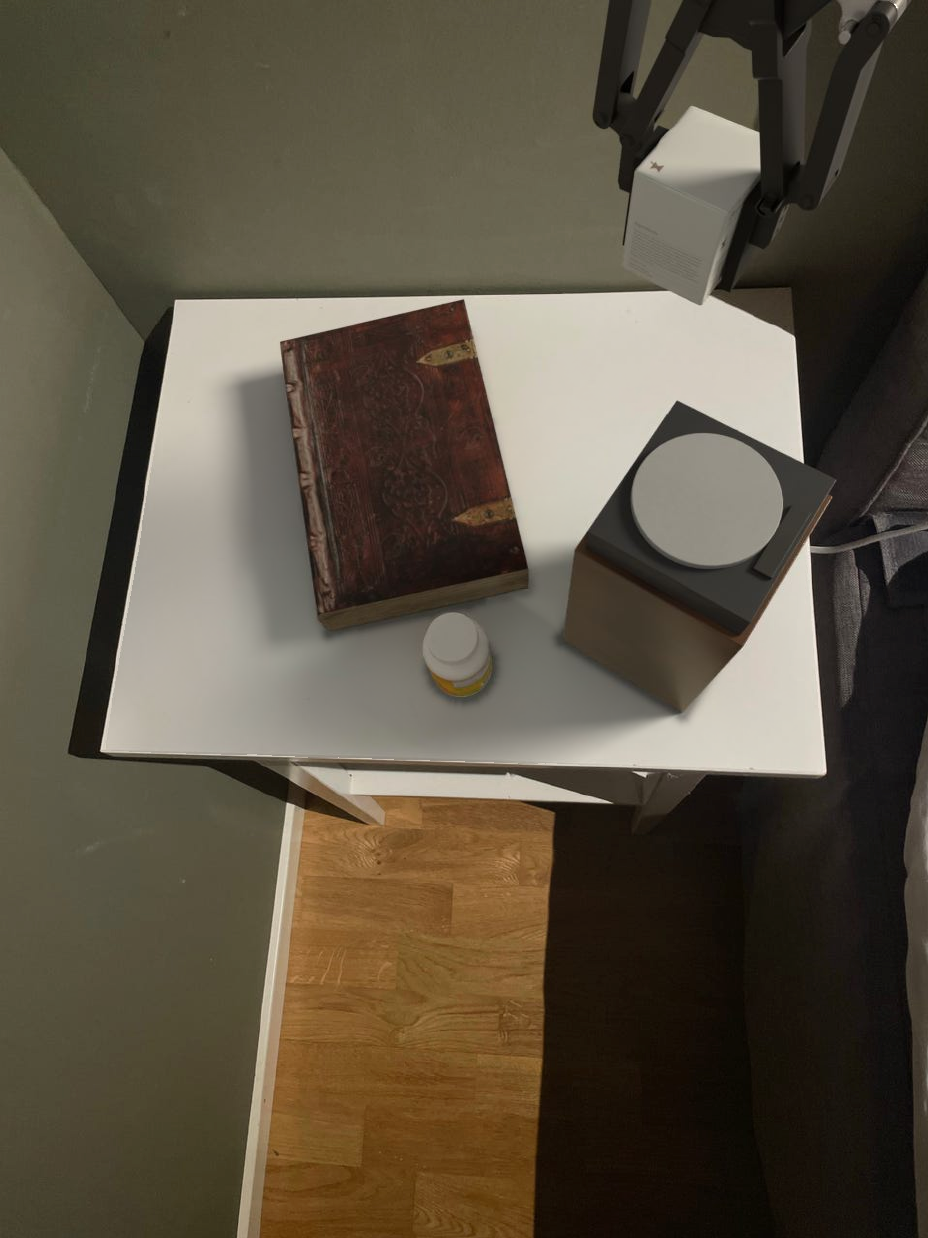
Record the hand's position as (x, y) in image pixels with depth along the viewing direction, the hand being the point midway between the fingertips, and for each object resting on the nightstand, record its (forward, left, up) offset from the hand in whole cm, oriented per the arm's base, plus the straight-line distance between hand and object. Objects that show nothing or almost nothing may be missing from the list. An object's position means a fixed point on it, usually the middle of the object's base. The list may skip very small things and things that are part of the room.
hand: (685, 253), depth 50 cm
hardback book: (+18, +13, -26) cm, 34 cm away
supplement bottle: (+2, +26, -26) cm, 37 cm away
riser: (-10, +13, -26) cm, 31 cm away
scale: (-10, +13, -6) cm, 17 cm away
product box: (0, 0, -1) cm, 1 cm away
